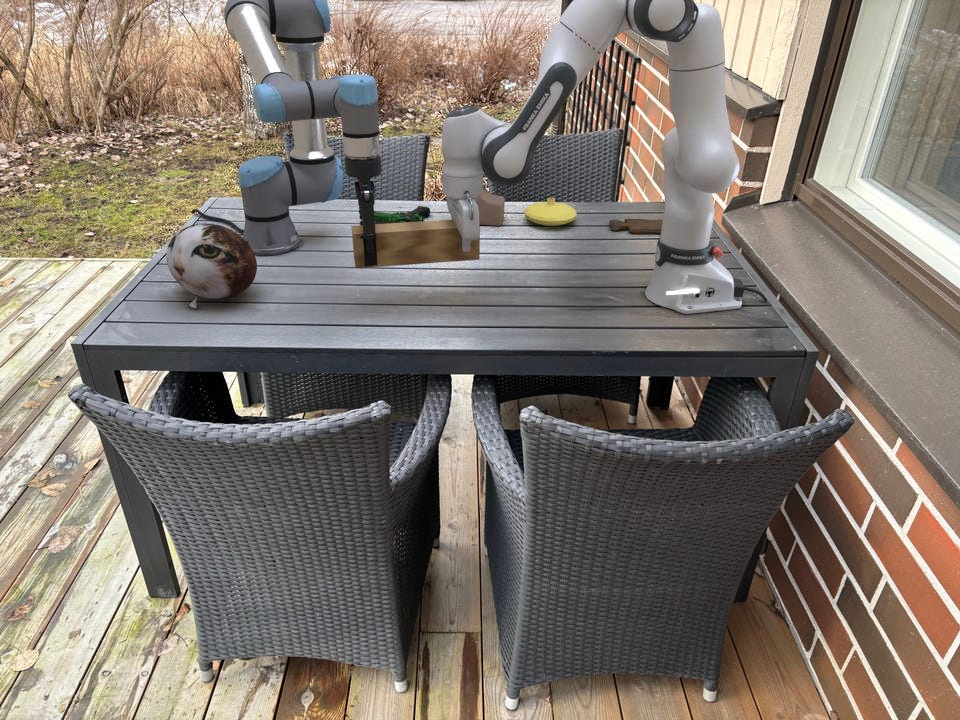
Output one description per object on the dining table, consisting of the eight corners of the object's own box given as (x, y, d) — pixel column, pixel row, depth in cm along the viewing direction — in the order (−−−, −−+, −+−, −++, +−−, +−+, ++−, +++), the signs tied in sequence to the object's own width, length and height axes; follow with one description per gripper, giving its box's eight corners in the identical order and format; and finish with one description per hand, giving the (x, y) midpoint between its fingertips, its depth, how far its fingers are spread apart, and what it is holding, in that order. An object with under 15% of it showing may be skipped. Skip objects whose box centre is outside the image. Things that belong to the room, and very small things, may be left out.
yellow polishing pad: (541, 209, 225) (542, 187, 222) (585, 220, 218) (587, 197, 214) (513, 223, 214) (514, 200, 211) (559, 234, 206) (560, 211, 203)
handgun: (435, 206, 218) (413, 220, 206) (436, 216, 220) (413, 230, 208) (389, 200, 224) (364, 213, 212) (389, 209, 225) (365, 223, 213)
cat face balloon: (130, 285, 161) (164, 203, 163) (192, 308, 177) (221, 233, 178) (195, 307, 151) (229, 220, 152) (254, 330, 166) (285, 250, 168)
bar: (355, 268, 158) (352, 234, 154) (354, 259, 162) (351, 225, 158) (479, 259, 163) (479, 226, 159) (474, 250, 167) (475, 218, 163)
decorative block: (501, 226, 212) (504, 122, 196) (451, 223, 213) (450, 120, 198) (504, 218, 218) (507, 116, 203) (455, 215, 220) (455, 114, 204)
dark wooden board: (700, 236, 208) (693, 224, 217) (701, 230, 207) (694, 219, 216) (612, 233, 208) (607, 221, 217) (613, 227, 207) (608, 216, 216)
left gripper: (385, 169, 140) (391, 275, 151) (376, 141, 158) (382, 237, 170) (346, 170, 138) (355, 277, 150) (342, 142, 157) (350, 239, 168)
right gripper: (487, 199, 148) (486, 261, 155) (468, 171, 165) (468, 228, 172) (457, 201, 147) (457, 263, 154) (441, 172, 164) (442, 230, 171)
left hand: (369, 256), depth 160 cm, fingers open, 9 cm apart
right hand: (463, 244), depth 163 cm, fingers closed on bar, 5 cm apart
